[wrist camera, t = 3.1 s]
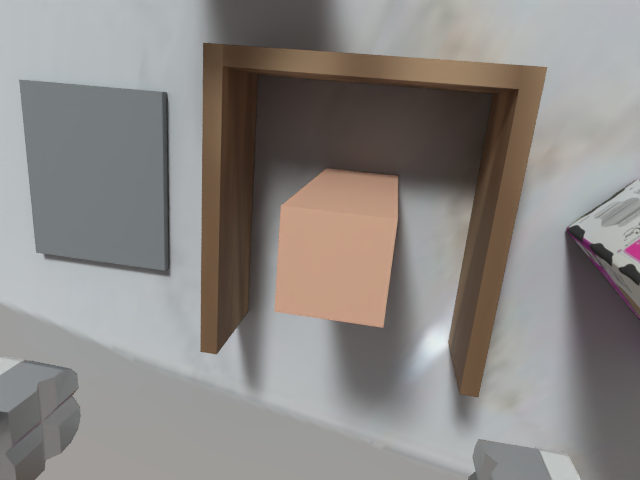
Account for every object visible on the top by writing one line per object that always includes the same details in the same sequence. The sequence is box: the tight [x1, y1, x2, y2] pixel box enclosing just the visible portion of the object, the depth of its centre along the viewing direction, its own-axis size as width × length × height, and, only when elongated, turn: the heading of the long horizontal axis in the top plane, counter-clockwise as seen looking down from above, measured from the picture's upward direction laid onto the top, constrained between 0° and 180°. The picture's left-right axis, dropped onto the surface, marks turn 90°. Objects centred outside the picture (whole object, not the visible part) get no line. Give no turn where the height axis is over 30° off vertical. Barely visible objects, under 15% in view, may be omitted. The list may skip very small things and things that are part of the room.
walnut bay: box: [201, 43, 547, 397], centre depth 27 cm, size 16×17×6 cm
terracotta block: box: [275, 168, 398, 328], centre depth 24 cm, size 4×4×12 cm
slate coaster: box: [19, 80, 169, 271], centre depth 32 cm, size 10×12×1 cm
